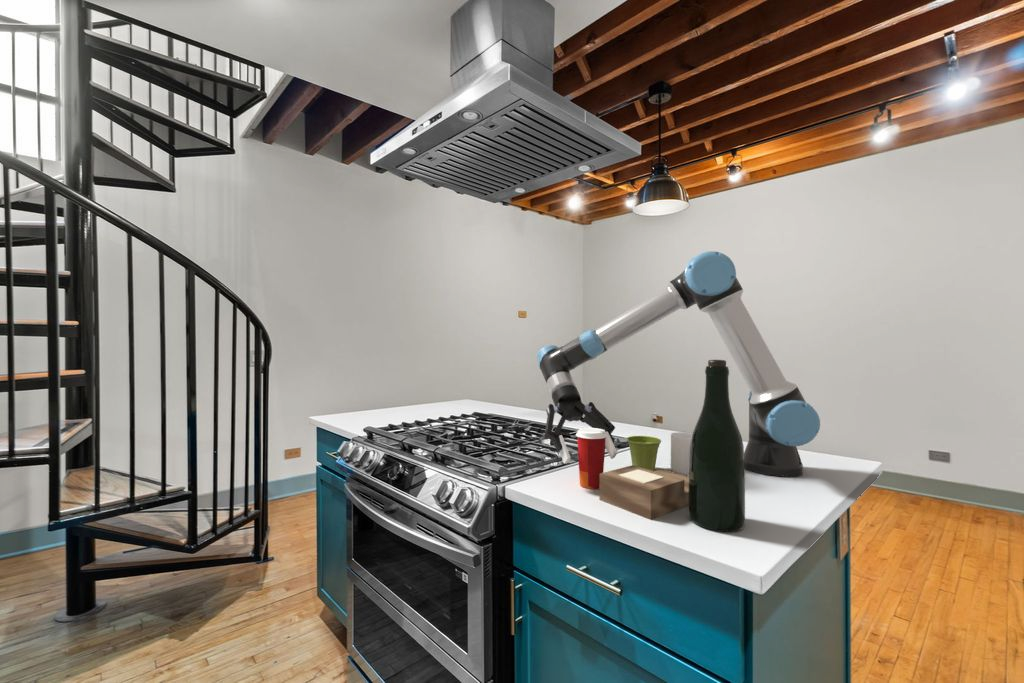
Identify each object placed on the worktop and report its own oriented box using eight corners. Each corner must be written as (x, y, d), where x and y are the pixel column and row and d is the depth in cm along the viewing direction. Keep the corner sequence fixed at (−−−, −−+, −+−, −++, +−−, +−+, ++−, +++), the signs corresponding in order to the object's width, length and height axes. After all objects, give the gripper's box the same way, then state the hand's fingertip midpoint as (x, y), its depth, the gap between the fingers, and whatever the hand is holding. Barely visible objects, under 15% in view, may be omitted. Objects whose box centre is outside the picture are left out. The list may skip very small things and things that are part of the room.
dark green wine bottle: (729, 512, 95) (730, 358, 95) (755, 533, 85) (757, 361, 84) (680, 511, 95) (681, 358, 95) (700, 533, 85) (701, 360, 85)
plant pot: (665, 474, 122) (665, 443, 122) (631, 474, 122) (631, 442, 122) (655, 465, 131) (655, 435, 131) (623, 464, 131) (623, 435, 131)
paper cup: (609, 483, 114) (609, 428, 114) (602, 492, 107) (602, 434, 107) (580, 479, 117) (580, 426, 117) (571, 487, 110) (571, 431, 110)
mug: (714, 480, 117) (714, 441, 117) (683, 480, 116) (683, 441, 116) (694, 467, 129) (694, 432, 129) (666, 467, 128) (666, 432, 128)
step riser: (662, 480, 117) (662, 456, 116) (713, 495, 105) (713, 469, 105) (599, 499, 102) (599, 472, 102) (650, 519, 91) (650, 489, 91)
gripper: (596, 398, 132) (626, 461, 118) (519, 401, 123) (541, 470, 109) (606, 382, 127) (639, 446, 113) (526, 384, 118) (551, 454, 104)
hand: (591, 458), depth 111 cm, fingers open, 13 cm apart
